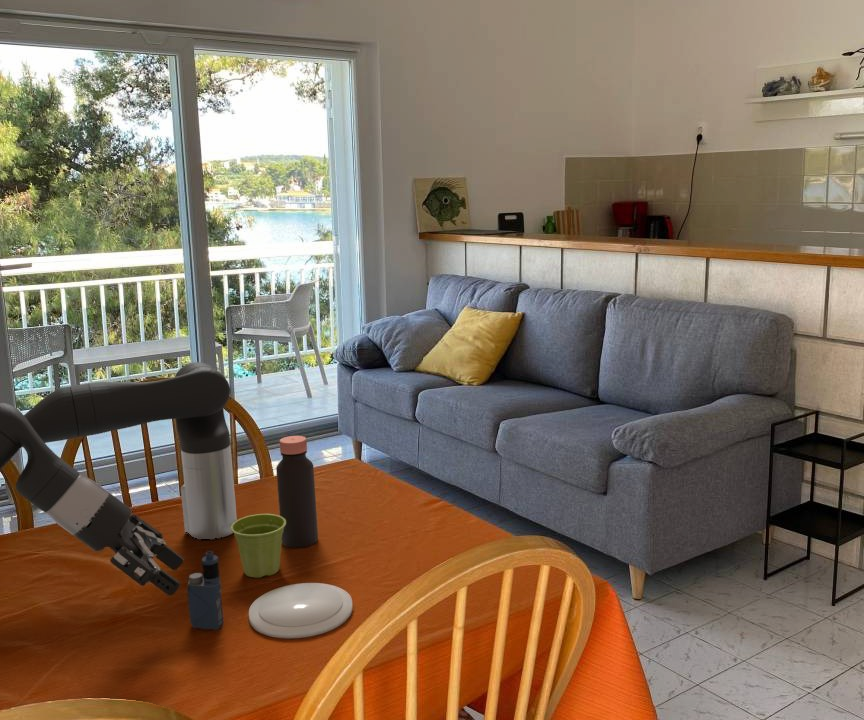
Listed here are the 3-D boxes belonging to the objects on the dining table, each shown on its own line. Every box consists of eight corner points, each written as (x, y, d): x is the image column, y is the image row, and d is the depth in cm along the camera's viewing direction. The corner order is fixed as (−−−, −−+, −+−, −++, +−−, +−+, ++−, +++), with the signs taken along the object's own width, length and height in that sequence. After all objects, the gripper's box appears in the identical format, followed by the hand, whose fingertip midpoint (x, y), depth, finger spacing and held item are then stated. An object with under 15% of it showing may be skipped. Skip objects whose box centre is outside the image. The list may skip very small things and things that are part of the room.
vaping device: (220, 631, 129) (213, 556, 127) (187, 628, 130) (180, 554, 128) (227, 622, 132) (220, 549, 129) (195, 620, 133) (188, 547, 130)
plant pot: (299, 562, 152) (295, 516, 150) (272, 585, 143) (268, 537, 142) (252, 556, 155) (249, 511, 153) (224, 579, 146) (219, 531, 145)
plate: (227, 626, 130) (226, 617, 130) (288, 582, 144) (288, 574, 144) (315, 647, 123) (315, 638, 123) (371, 598, 138) (370, 590, 137)
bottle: (311, 531, 166) (305, 432, 162) (323, 544, 160) (316, 441, 156) (277, 538, 163) (269, 437, 159) (287, 551, 157) (279, 446, 153)
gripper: (80, 513, 130) (164, 575, 134) (61, 551, 116) (156, 618, 121) (113, 476, 130) (197, 540, 134) (99, 510, 116) (192, 579, 121)
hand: (178, 577), depth 128 cm, fingers open, 8 cm apart
